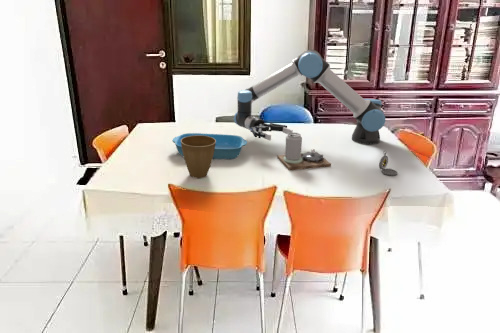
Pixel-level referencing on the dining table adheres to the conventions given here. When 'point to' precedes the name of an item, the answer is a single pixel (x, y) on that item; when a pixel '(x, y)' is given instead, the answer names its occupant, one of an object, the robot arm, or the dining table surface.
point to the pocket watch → (384, 162)
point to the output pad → (292, 160)
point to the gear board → (304, 164)
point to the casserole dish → (218, 145)
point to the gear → (312, 156)
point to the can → (293, 146)
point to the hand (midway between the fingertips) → (281, 135)
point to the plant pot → (198, 154)
